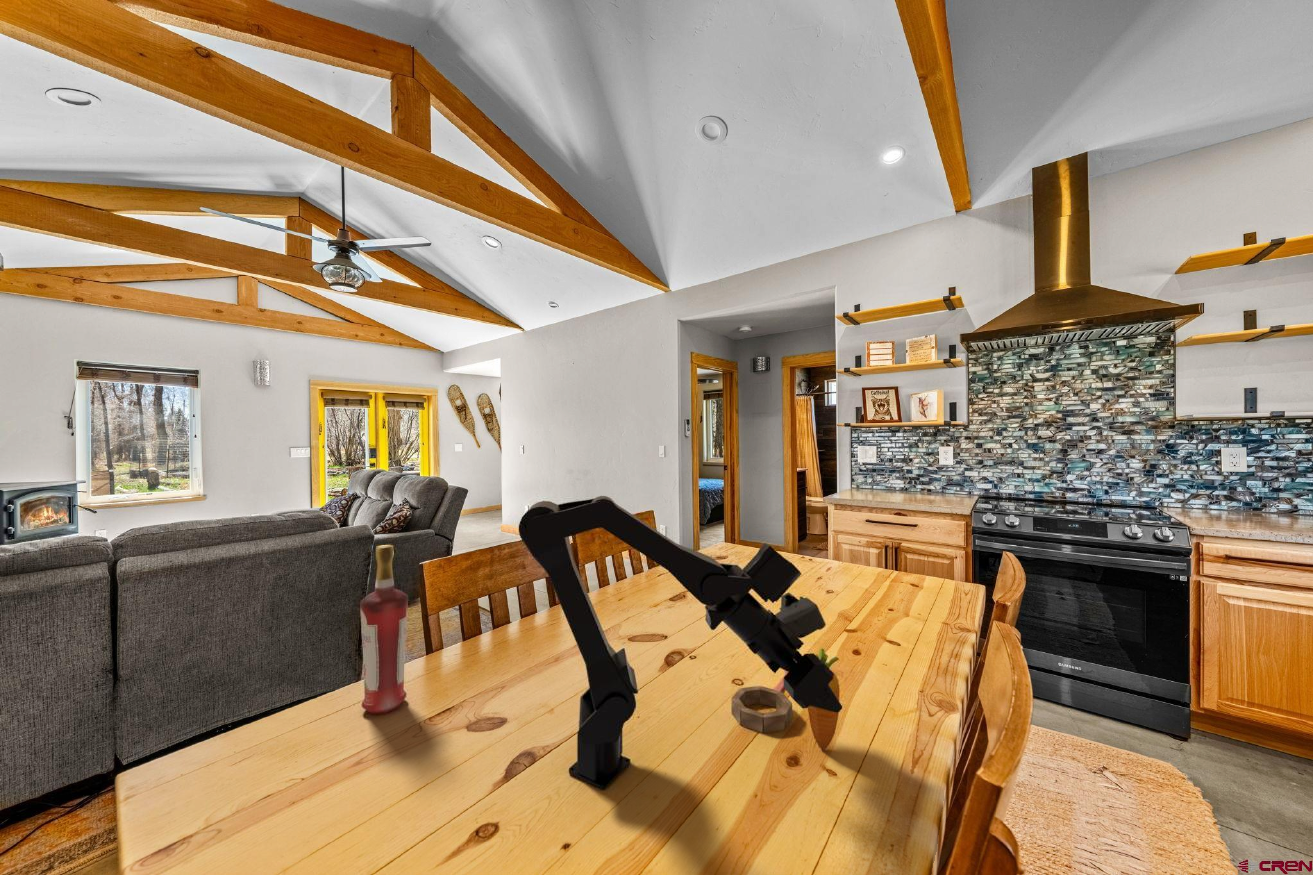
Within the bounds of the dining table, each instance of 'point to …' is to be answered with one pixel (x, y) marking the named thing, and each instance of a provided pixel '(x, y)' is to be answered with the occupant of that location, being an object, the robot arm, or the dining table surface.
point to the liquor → (384, 639)
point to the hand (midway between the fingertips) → (824, 692)
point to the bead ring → (758, 719)
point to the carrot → (824, 711)
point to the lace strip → (781, 683)
